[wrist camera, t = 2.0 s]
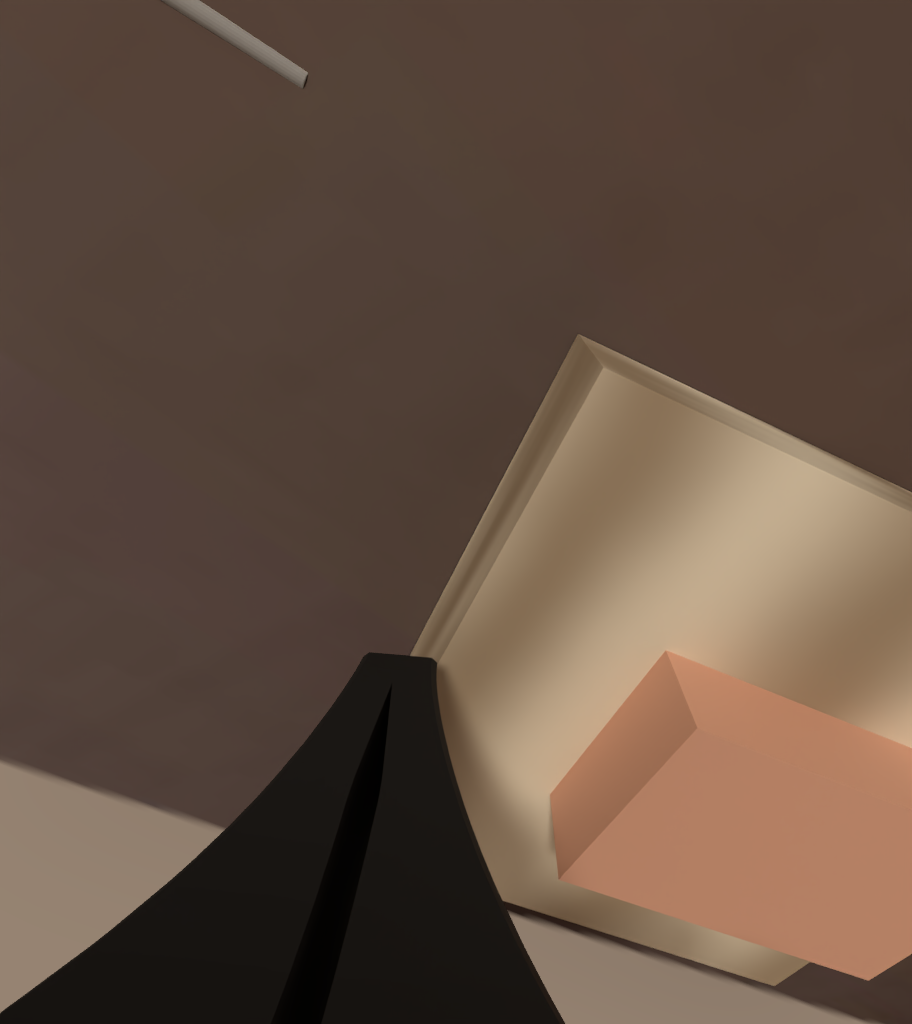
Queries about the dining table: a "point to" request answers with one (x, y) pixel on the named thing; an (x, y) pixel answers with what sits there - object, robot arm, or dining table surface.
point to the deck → (657, 609)
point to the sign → (239, 38)
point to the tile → (745, 819)
